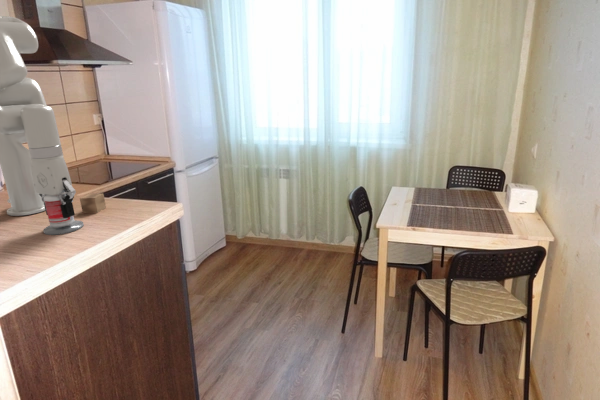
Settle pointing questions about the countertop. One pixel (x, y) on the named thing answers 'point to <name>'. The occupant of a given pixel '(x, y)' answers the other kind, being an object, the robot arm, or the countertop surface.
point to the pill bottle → (56, 211)
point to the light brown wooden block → (92, 203)
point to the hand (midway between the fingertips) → (60, 214)
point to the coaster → (63, 228)
